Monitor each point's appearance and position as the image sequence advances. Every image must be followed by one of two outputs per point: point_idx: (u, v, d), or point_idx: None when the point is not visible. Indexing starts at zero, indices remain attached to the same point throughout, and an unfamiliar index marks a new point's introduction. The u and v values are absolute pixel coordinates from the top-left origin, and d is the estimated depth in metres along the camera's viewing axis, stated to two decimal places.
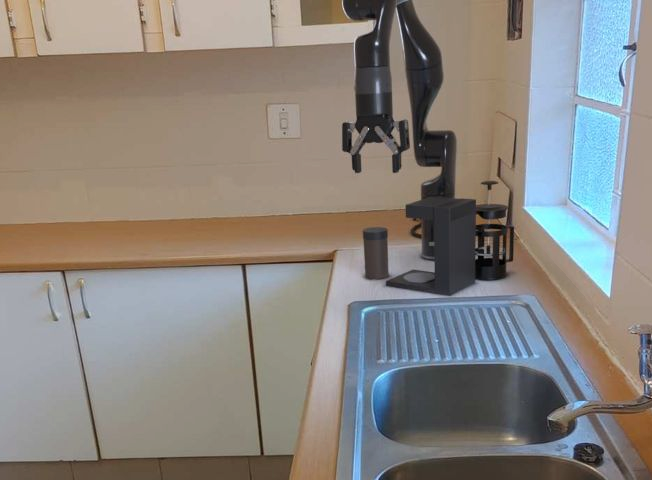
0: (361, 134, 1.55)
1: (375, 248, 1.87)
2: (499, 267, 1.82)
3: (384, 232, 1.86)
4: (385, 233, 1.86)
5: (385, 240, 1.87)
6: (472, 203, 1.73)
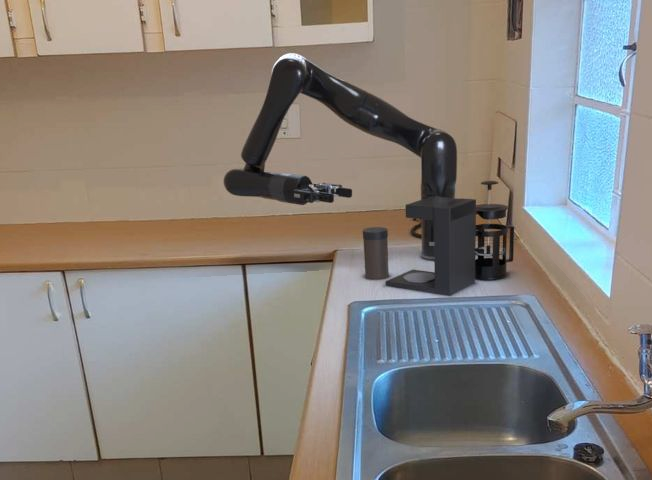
0: None
1: (375, 248, 1.87)
2: (499, 267, 1.82)
3: (384, 232, 1.86)
4: (385, 233, 1.86)
5: (385, 240, 1.87)
6: (472, 203, 1.73)
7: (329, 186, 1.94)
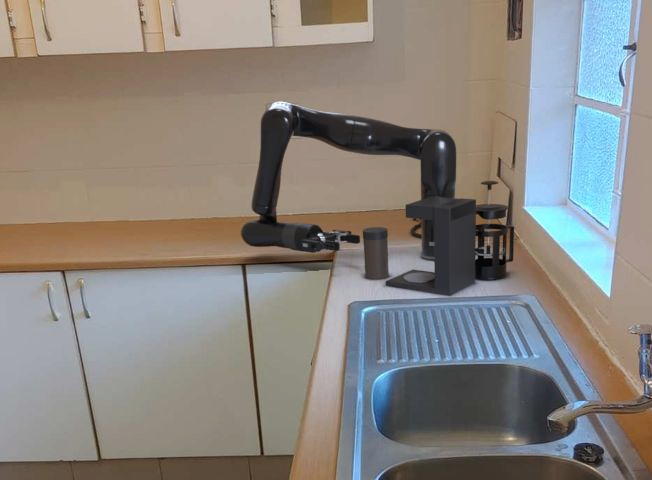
0: None
1: (375, 248, 1.87)
2: (499, 267, 1.82)
3: (384, 232, 1.86)
4: (385, 233, 1.86)
5: (385, 240, 1.87)
6: (472, 203, 1.73)
7: (338, 233, 1.99)
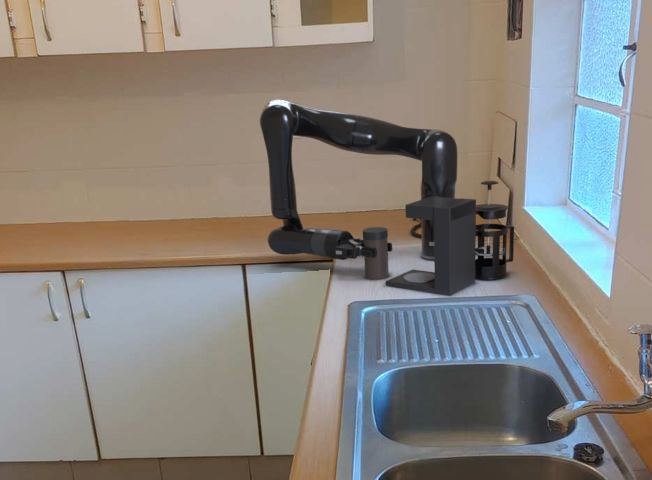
0: None
1: (375, 248, 1.87)
2: (499, 267, 1.82)
3: (384, 232, 1.86)
4: (385, 233, 1.86)
5: (385, 240, 1.87)
6: (472, 203, 1.73)
7: None
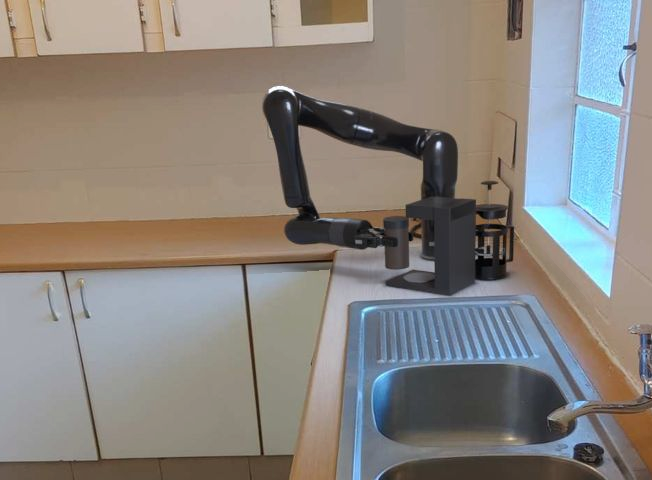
0: None
1: None
2: (499, 267, 1.82)
3: (405, 221, 1.81)
4: (407, 222, 1.81)
5: (406, 229, 1.82)
6: (472, 203, 1.73)
7: None
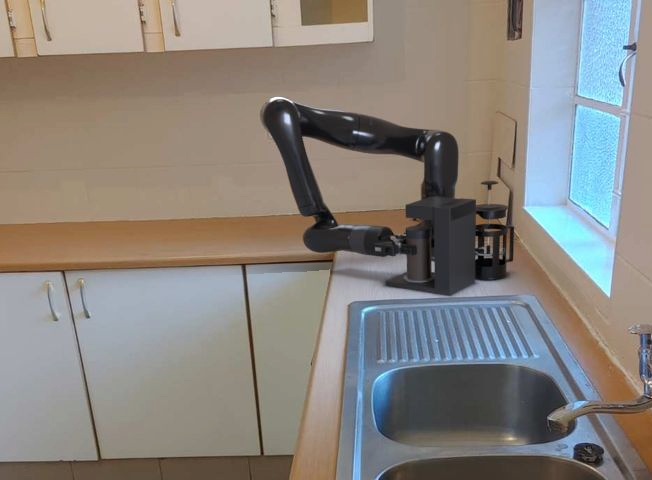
0: None
1: (418, 248, 1.78)
2: (499, 267, 1.82)
3: (428, 231, 1.78)
4: (429, 232, 1.78)
5: (429, 239, 1.79)
6: (472, 203, 1.73)
7: None
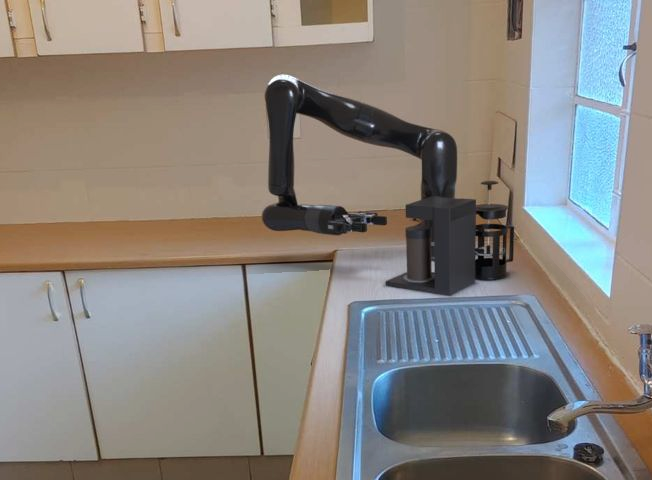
0: None
1: (418, 248, 1.78)
2: (499, 267, 1.82)
3: (428, 231, 1.78)
4: (429, 232, 1.78)
5: (429, 239, 1.79)
6: (472, 203, 1.73)
7: (364, 215, 1.92)
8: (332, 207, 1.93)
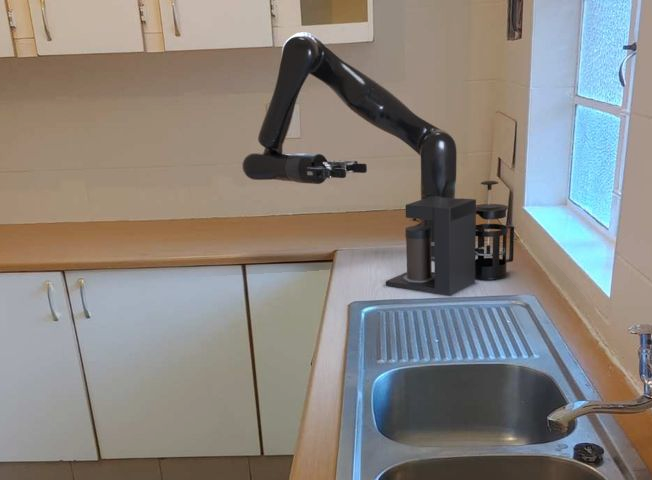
0: None
1: (418, 248, 1.78)
2: (499, 267, 1.82)
3: (428, 231, 1.78)
4: (429, 232, 1.78)
5: (429, 239, 1.79)
6: (472, 203, 1.73)
7: (344, 163, 1.92)
8: (312, 155, 1.92)
